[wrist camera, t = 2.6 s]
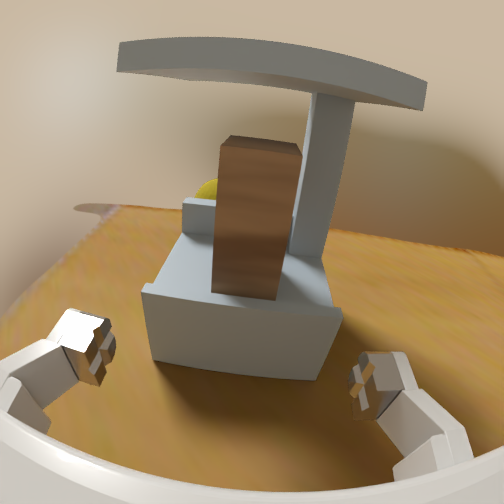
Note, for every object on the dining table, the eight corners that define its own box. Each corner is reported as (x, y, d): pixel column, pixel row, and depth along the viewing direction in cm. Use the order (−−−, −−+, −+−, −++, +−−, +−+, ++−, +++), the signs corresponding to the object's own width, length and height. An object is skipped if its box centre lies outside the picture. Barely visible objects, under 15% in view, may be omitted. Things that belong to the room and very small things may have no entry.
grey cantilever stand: (322, 390, 20) (427, 82, 10) (143, 367, 20) (119, 42, 10) (308, 291, 32) (353, 85, 21) (181, 274, 32) (190, 64, 21)
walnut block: (275, 300, 20) (302, 156, 15) (210, 292, 20) (220, 145, 15) (274, 265, 24) (296, 143, 19) (220, 258, 24) (231, 135, 19)
